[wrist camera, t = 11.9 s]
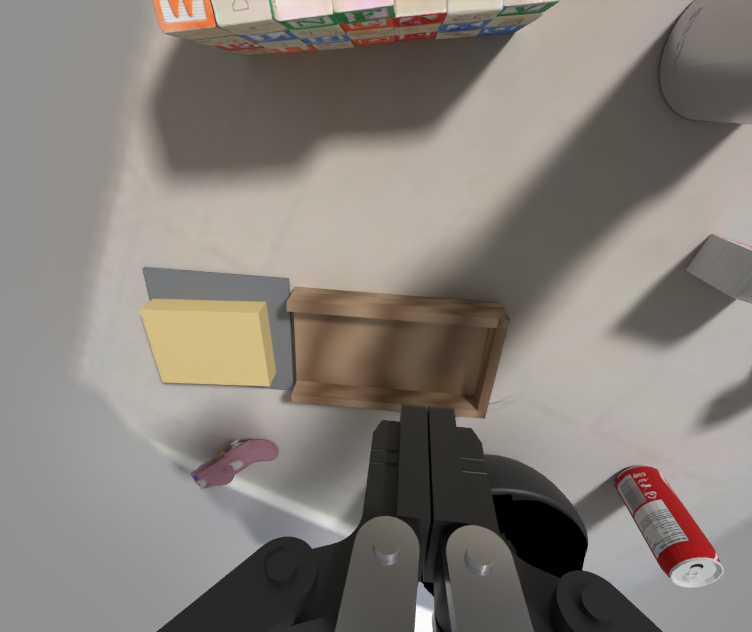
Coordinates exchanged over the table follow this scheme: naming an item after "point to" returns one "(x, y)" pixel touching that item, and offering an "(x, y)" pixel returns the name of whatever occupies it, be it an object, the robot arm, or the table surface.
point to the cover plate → (210, 341)
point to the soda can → (668, 528)
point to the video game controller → (234, 462)
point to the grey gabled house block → (725, 267)
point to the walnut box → (395, 350)
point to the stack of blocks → (337, 21)
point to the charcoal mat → (235, 289)
